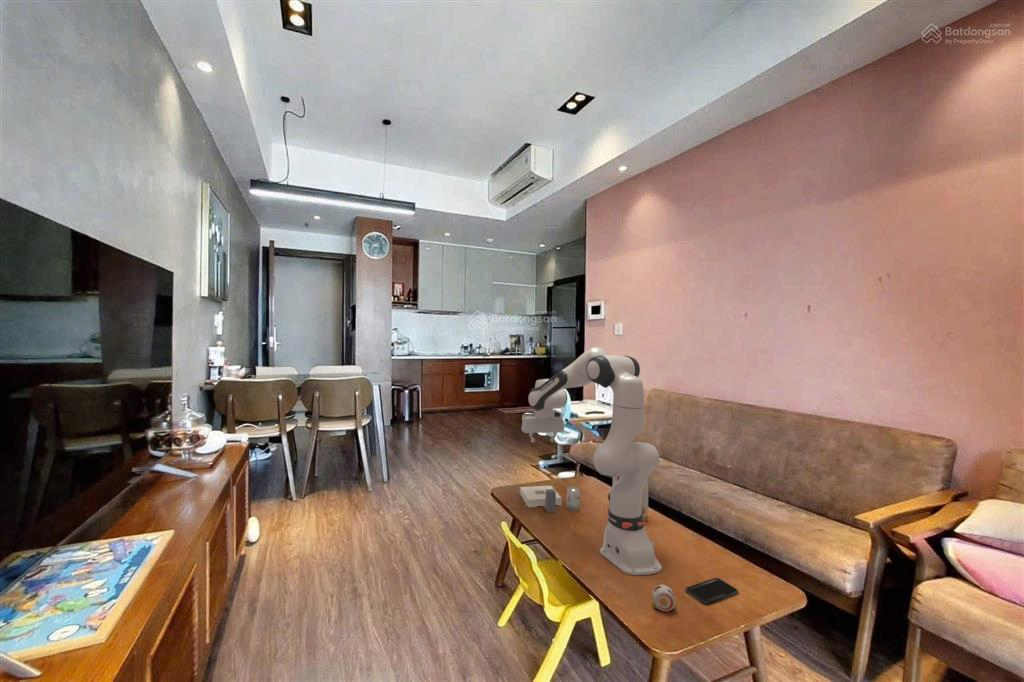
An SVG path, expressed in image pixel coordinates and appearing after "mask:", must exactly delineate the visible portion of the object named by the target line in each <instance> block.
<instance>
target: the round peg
mask: <svg viewBox="0 0 1024 682" xmlns="http://www.w3.org/2000/svg"><path fill="white" fill-rule="evenodd" d="M566 509H567V510H568V509H569V510H568V511H570V510H572V511H571V512H577V511H579V510H580V488H579V487H578V486H573V485H572V486H567V487H566ZM576 510H577V511H576Z"/></svg>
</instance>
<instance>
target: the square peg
mask: <svg viewBox="0 0 1024 682" xmlns="http://www.w3.org/2000/svg"><path fill="white" fill-rule="evenodd" d="M554 489H555V488H554ZM554 489H546V504H545V506H544V508H545V509H546V510H545V509H544V510H545V512H547V513H548V512H552V513H556V506H555V503H556V492H557V491H556V489H555V490H554ZM555 491H556V492H555Z"/></svg>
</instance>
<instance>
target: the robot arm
mask: <svg viewBox="0 0 1024 682" xmlns="http://www.w3.org/2000/svg"><path fill="white" fill-rule="evenodd" d="M640 373H641V367H640V363H639V361H638V360H637V359H635V358H634V357H632V356H628V355H617V354H608V353H607V352H606V351H605V349H603V348H601V347H598V346H593V347H591V348H589V349H588V350H586V351H584V352H583V353H582V354H581V355H579V356H578V357H577V358H576V359H575V360H574V361H573V362H571V363H570V364H569V365H568V366H566V367H565V368H563V369H562V370H560V371H558V372H557V373H556V374H554V375H552V377H550V378H539V379H537V380H536V381H535V384H534V385H535V386H534V388H532V389H531V390H530V392H529V393H528V395H527V402H528V404H529V406H530V407H531V408H532V410H533V412H525V413H523V414H522V416H521V421H522V422H521V432H523V434H528V435H529V437H530V442H531V443H536V438H535V437H533V435H534V434H544V433H549V434H551V433H552V434H553V435H552V436H551V437H550V438H549V439H550V440H549V442H551V443H553V442H555V438H556V436H557V435H558V434H557V433H563V432H564V431H565V421H564V418H563V412H561V411H560V410H556V409H561V408H564V407H565V406H566V405H567V402H568V394H567V391H566V390H565V389H571V388H580V387H585V386H587V385H589V384H592V383H594V384H597V385H599V386H600V387H603V388H605V389H607V388H608V387H610V389H611V390H612V393H613V395H612V396H613V400H612V414H611V424H610V428H609V432H608V433H607V435H606V438H605V440H604V441H603V442H602V444H601V445H600V446H598V447H597V448H596V449H595V450H594V454H593V457H592V459H593V461H592V462H593V466H594V468H595V470H596V471H597V472H598V473H599V474H600V475H602V476H608V477H613V476H620V475H621V477H620V478H619V480H618V481H617V482H616V483H615V484H614V485H613V484H612V486H611V488H610V490H609V493H610V502H609V508H608V512H607V521H608V522H607V525H606V527H605V528H604V531H603V532H604V533H603V543H602V547H600V549H599V554H600V555H602V556H603V557H604V558H606V559H607V560H608V561H609V562H610V563H612V564H613V565H614V566H615V567H616V566H617V567H616V568H618V569H619V570H620V571H621V572H623V573H624V574H626V575H632V576H648V575H649V576H650V575H653V574H657V573H658V574H659V573H660V572H661V571H663V566H662V564H661V563H660V562H659V560H658V559H657V557H656V555H655V548H656V545H655V542H654V541H653V540H651V539H650V538H649V533H648V532H646V529H645V522H643V521H644V520H643V516H642V513H641V505H642V493H643V489H644V486H645V483H646V481H647V479H648V480H649V477H650V476H651V474H652V473H653V472H654V470H656V469H657V468H658V466H659V463H660V455H659V452H658V449H657V448H656V446H655V445H653V444H651V443H649V442H642V441H637V442H633V441H634V440H635V438H636V437H637V435H639V434H640V433H641V432H642V431H643V430H644V427H645V425H644V424H645V390H644V388H645V387H644V384H643V381H642V379H641V378H640Z"/></svg>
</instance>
